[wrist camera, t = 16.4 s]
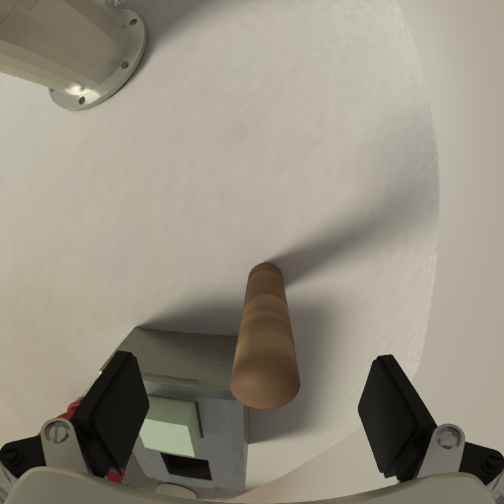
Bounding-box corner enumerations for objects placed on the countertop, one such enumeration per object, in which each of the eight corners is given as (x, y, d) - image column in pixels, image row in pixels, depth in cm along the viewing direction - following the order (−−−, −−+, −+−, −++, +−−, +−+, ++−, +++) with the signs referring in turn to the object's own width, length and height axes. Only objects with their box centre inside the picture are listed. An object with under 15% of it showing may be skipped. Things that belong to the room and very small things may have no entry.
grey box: (134, 327, 26) (98, 370, 19) (248, 336, 26) (243, 391, 18) (162, 434, 31) (146, 476, 23) (248, 444, 30) (244, 491, 22)
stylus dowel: (248, 262, 24) (229, 358, 11) (283, 263, 24) (303, 359, 10) (248, 294, 25) (231, 407, 11) (281, 295, 25) (296, 409, 11)
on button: (152, 377, 21) (131, 415, 16) (200, 384, 21) (187, 426, 16) (160, 410, 22) (145, 447, 17) (204, 417, 22) (194, 456, 17)
